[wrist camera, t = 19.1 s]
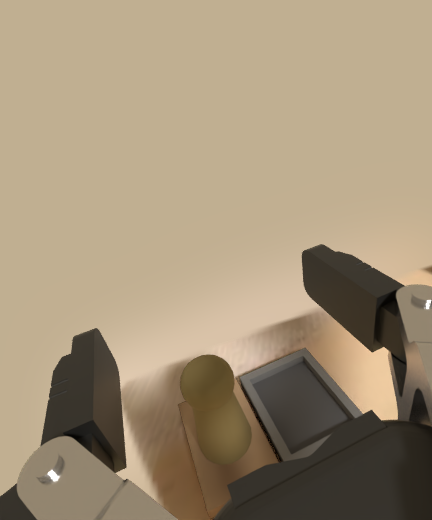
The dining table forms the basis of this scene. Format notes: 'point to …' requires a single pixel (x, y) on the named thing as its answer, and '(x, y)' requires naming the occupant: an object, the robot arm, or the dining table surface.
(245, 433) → the cork
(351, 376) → the dining table surface
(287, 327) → the dining table surface
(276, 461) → the light brown wooden board
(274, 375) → the shallow grey tray
